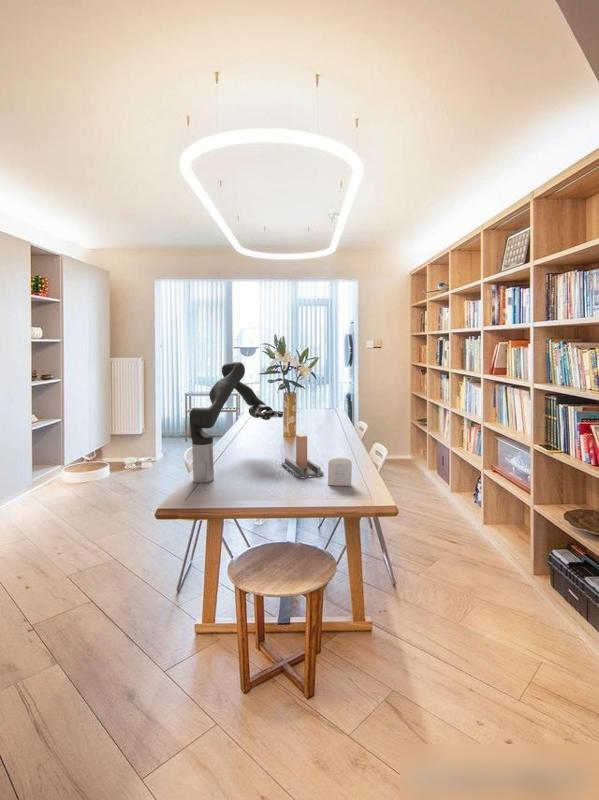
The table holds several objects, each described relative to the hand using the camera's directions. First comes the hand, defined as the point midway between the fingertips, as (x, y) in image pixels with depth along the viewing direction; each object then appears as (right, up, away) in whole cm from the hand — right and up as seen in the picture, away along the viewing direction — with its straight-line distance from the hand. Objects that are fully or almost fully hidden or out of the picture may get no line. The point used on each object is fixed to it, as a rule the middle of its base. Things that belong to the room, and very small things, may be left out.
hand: (272, 415), depth 211 cm
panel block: (+15, -25, -6) cm, 30 cm away
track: (+15, -27, -6) cm, 31 cm away
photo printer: (+31, -29, -29) cm, 52 cm away
